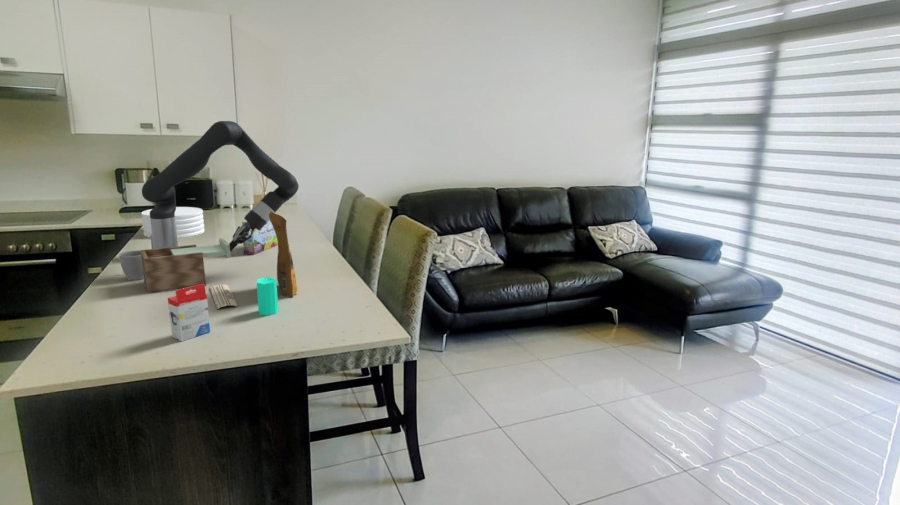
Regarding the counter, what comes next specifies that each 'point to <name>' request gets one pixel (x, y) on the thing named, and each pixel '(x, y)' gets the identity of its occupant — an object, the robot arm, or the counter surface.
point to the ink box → (189, 313)
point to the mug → (132, 264)
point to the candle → (267, 296)
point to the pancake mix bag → (284, 257)
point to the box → (171, 269)
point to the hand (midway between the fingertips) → (228, 249)
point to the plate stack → (180, 222)
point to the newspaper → (222, 296)
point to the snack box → (260, 239)
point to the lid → (206, 250)
